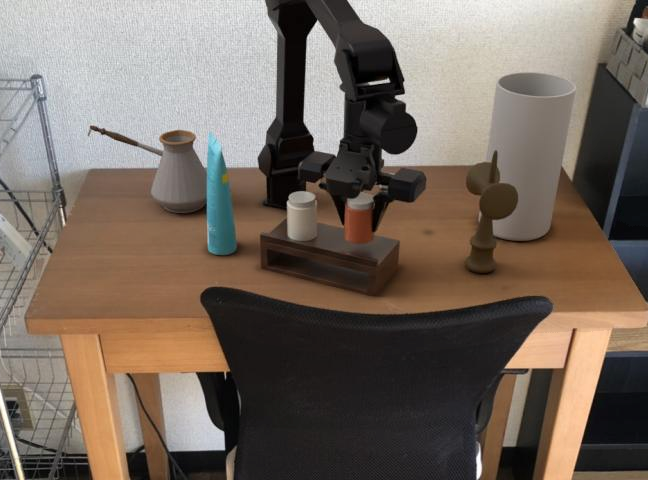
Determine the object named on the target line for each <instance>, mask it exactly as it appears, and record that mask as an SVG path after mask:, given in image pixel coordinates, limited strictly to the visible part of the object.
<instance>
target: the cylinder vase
mask: <svg viewBox="0 0 648 480" xmlns="http://www.w3.org/2000/svg"><path fill="white" fill-rule="evenodd" d="M494 89H495V90H494V97H493V105H492V113H491V120H490V128H489V129H490V130H489V135H488V142H487V151H486V159H485V162H489V163H491V162H492V157H493V153H494V151H495V150H497V152H498V159H497V167H498V169H499V171H500V182H499V183H508V184H510V185H512V186H514V187H515V188H516V191H517V193H518V203H517V206H516V209H515V210H514V211H513V213H512V214H511V215H510V216H508V217H506V218H504V219H500V220H493V236H494V238H497V239H502V240H506V241H513V242H526V241H533V240H537V239H540V238H542V237H543V236H545V235H546V234H547V233H548V232H549V230H550V229H551V224H552V218H553V213H554V207H555V202H556V198H557V193H558V188H559V187H558V186H559V180H560V175H561V170H562V165H563V160H564V156H565V155H564V154H565V149H566V143H567V138H568V133H569V129H570V123H571V117H572V112H573V106H574V101H575V95H576V91H577V86H576V84H575V83H574V82H573V81H571V80H570V79H568V78H565V77H562V76H558V75H555V74H551V73H546V72H534V71H533V72H532V71H523V72H520V71H519V72H512V73H508V74H504V75H501V76H500V77H498V78H497V79H496V82H495V88H494ZM481 214H482V213H481V212H480V211H479V213H478V222H479V221H480V218H481Z"/></svg>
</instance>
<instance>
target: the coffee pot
mask: <svg viewBox="0 0 648 480" xmlns="http://www.w3.org/2000/svg"><path fill="white" fill-rule="evenodd" d="M92 131H94V132H95V133H96V132H98V133H99V134H100V135H101V136H106V137H108V138H110V139H113V140H114V141H117V142H121V143H124V144H126V145H130V146H133V147H137V148H139V149H142V150H145V151H147V152H150V153H152V154H154V155H157V156H160V159H159V163H158V167H157V171H156V173H155V176H154V179H153V182H152V186H151V189H150V193H151V197H152V198H153V200H154V201H155V202H156V203H157V204H158V205H160V206H161V207H162V208H164V210H166V211H168V212H171V213H175V214H189V213H193V212H197V211H200V209H202V208H203V207H205V205H207V170H206V169H205V167H204V165H203V163H202V162H201V159H200V157H199V156H198V154H197V152H196V150H195V148H194V142H195V141H196V139H197V136H196V134H195V133H194V132H192V131H189V130H185V129H175V130H170V131H166V132H163V133H162V134H160V135H159V137H158V141H159V142H160V143H161V144H162V146H163V150H161V149H158V148H156V147H152V146H150V145H147V144H144V143H141V142H139V141H137V140H134V139H132V138H130V137H128V136H126V135H123V134H120V133H118V132H115V131H110V130H106V128H105V127H102V128H101V127H98V126H97V125H92V124H90V126H89V130H88V133H87V137H90V135H91V133H92Z"/></svg>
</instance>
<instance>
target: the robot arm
mask: <svg viewBox="0 0 648 480" xmlns="http://www.w3.org/2000/svg"><path fill="white" fill-rule="evenodd" d="M264 4H265V6H266V11H267V12H266V13H267V17H268V19H269V20H270V22H271V25H273V27H274V30H275V31H276V87H275V88H276V90H275V92H276V93H275V98H276V100H275V118H274V119H273V120H272V122H271V124H270V125H269V126H268V128H267V130H266V131H265V132H266V133H265V144H264V146H263V147H262V149H261V151H260V152H259V154H258V156H257V164H258V170H259V171H260V172H261V173H262V174H263V175H264V176H265V183H266V187H265V188H266V198H265V199H264V200H263V201H262V205H263V206H267V207H272V208H275V209H281V210H286V211H287V201H288V200H289V195H290V194H292V193H294V192H299V191H305V192H307V183H311V184H316V183H318V182H319V181H320V182H319V184H318V185H317V186H318V188H319V189H320V190H324V191H326V193H327V194H329V196H330V197H331V199H332V201H333V205H334V207H335V209H336V213H337V216H338V217H339V220H340V223H341V225H342V226H344V217H345V202H346V201H347V198H349V199H354V198H356V197H358V196H359V194H360V192H362V193H364V191H367V192H371V191H372V190H373V188H374V187H375V186H378V189H379V191H377V193H375V194H374V195H373V196H374V197H373V200H374V203H375V206H374V214H373V222H372V231H373V232H375V233H376V232H377V231H378V229H379V227H380V225H381V222H382V221H383V218H384V216H385V214H386V212H387V210H388V208H389V206H390V204H392V203H393V202H395V201H398V202H402V203H408V204H409V203H415V202H416V200H417V199H418V198H419V197H420V196H421V195H422V194H423V192H424V191H425V190H426V189H427V180H428V179H427V177H426V174H425V173H424V171H422V170H418V169H411V168H407V167H400V169H398V170H397V171H396V173H393V172H389V173H388V172H383V171H382V168H384V166H385V158H383V151H384V152H385V153H387V154H389V155H391V156H392V155H393V156H396V155H401V154H403V153H405V152H407V151H408V150H409V149H410V148H411V147H412V146H413V144H414V143H415V141H416V138H417V136H418V130H419V129H418V128H419V127H418V125H417V122H416V119H415V117H414V116H413V115H411V114H410V113H409V112H407V103H406V102H404V100H401V99H397V98H396V97H397V96H404V95H405V94H406V89H405V85H404V83H405V81H406V80H405V76H404V74H403V71H402V69H401V65H400V63H399V60H398V57H397V53H396V49H395V47H394V46H393V44H392V42H391V41H390V39H389V38H388V37H387V36H386V35H385V34H384V33H383V32H382V31H381V30H380V29H378V28H377V27H375V26H372V25H370V24H368V23H365V22H364V21H362V19H361V18H360V17H359V15H358V14H357V12H356V10H355V9H354V7H353V6H352V5H351V3H350V2H349V0H264ZM317 22H318V24H320V26H321V28H323V31H324V32H325V34H326V35H327V37H328V38H329V40H330V41H331V43H332V46H333V47H334V50H335V52H334V59H333V64H334V66H335V67H336V71H337V74H338V76H339V79H340V81H341V83H340V84H339V90H340V91H341V92H343V93H344V99H343V100H344V102H343V135H342V136H343V137H342V138H340V140H339V144H338V151H337V154H334V153H329V152H323V151H318V150H315V145H314V141H315V140H314V139H315V138H314V136H313V134H311V132H310V130H309V129H308V127H307V125H306V124H305V119H304V118H305V97H306V96H305V95H306V71H307V50H308V49H307V47H308V37H309V35H310V33H311V32H312V30H313V28H314V27H315V25H316V23H317ZM386 80H389V82H382V81H386ZM377 82H380V83H377ZM381 82H382V83H381ZM370 83H374V84H370Z"/></svg>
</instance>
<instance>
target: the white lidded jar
mask: <svg viewBox="0 0 648 480" xmlns="http://www.w3.org/2000/svg"><path fill="white" fill-rule="evenodd" d="M286 218H287V234H288V237H289V238H291V239H294V240H298V241H308V240H311V239H314V238H315V237H316V236H317V222H318V201H317V200H316V195H315V194H314V193H313V192H311V191H310V192H309V191H306V192H305V191H299V192H294V193H292V194H290V195H289V200H288V201H287V210H286Z"/></svg>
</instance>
